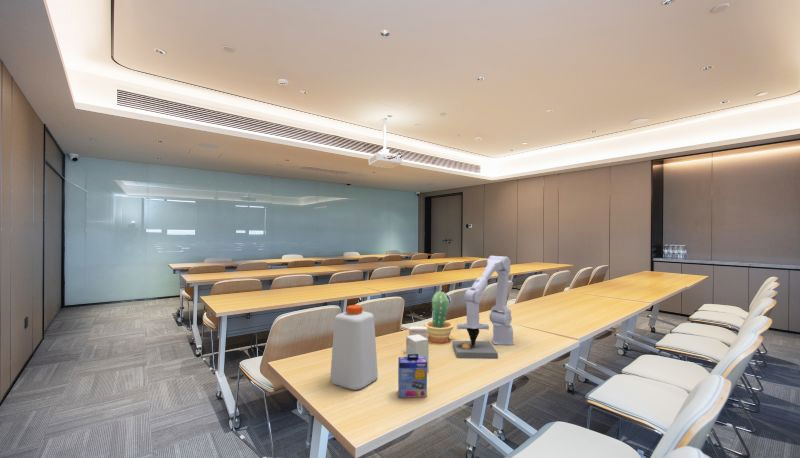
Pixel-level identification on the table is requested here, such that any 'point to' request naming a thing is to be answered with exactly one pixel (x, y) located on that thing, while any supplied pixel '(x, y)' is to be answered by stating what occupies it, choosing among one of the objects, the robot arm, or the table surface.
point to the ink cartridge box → (412, 376)
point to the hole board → (475, 350)
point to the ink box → (418, 331)
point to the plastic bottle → (354, 349)
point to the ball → (465, 345)
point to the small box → (417, 346)
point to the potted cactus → (439, 318)
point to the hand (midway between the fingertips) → (472, 344)
